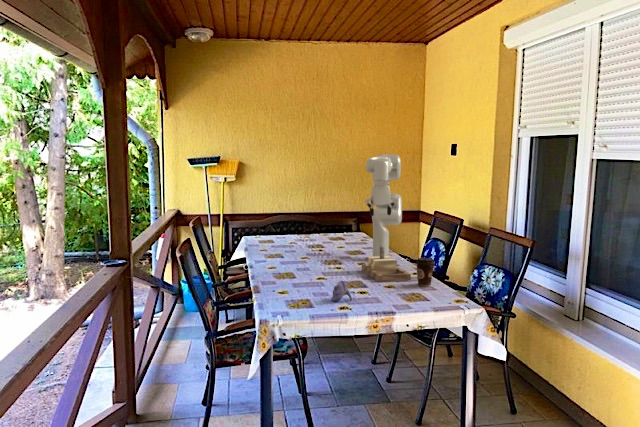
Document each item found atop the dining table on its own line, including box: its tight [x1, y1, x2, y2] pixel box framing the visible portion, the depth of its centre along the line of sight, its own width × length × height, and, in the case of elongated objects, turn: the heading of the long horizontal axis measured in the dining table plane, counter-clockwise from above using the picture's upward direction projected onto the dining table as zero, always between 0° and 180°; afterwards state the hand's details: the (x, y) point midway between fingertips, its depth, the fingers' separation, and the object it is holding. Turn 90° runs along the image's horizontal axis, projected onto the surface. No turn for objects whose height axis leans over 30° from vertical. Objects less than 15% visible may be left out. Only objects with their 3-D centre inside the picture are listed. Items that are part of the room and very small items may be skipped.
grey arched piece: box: [331, 280, 353, 303], centre depth 210 cm, size 9×9×10 cm
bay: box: [361, 264, 412, 283], centre depth 255 cm, size 26×17×3 cm, turn 14°
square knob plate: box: [366, 247, 398, 274], centre depth 259 cm, size 12×12×13 cm
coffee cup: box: [415, 257, 435, 287], centre depth 235 cm, size 9×8×13 cm
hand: (380, 215), depth 261 cm, fingers open, 9 cm apart
